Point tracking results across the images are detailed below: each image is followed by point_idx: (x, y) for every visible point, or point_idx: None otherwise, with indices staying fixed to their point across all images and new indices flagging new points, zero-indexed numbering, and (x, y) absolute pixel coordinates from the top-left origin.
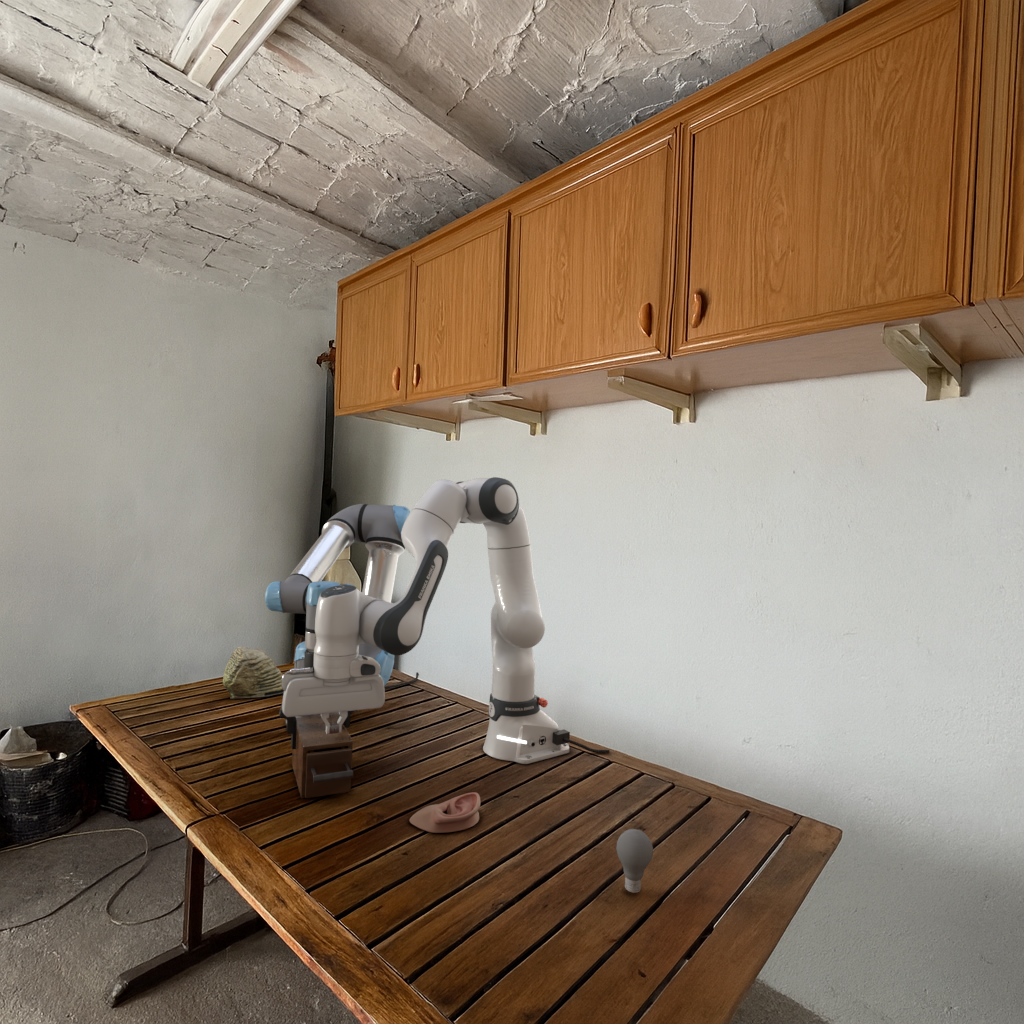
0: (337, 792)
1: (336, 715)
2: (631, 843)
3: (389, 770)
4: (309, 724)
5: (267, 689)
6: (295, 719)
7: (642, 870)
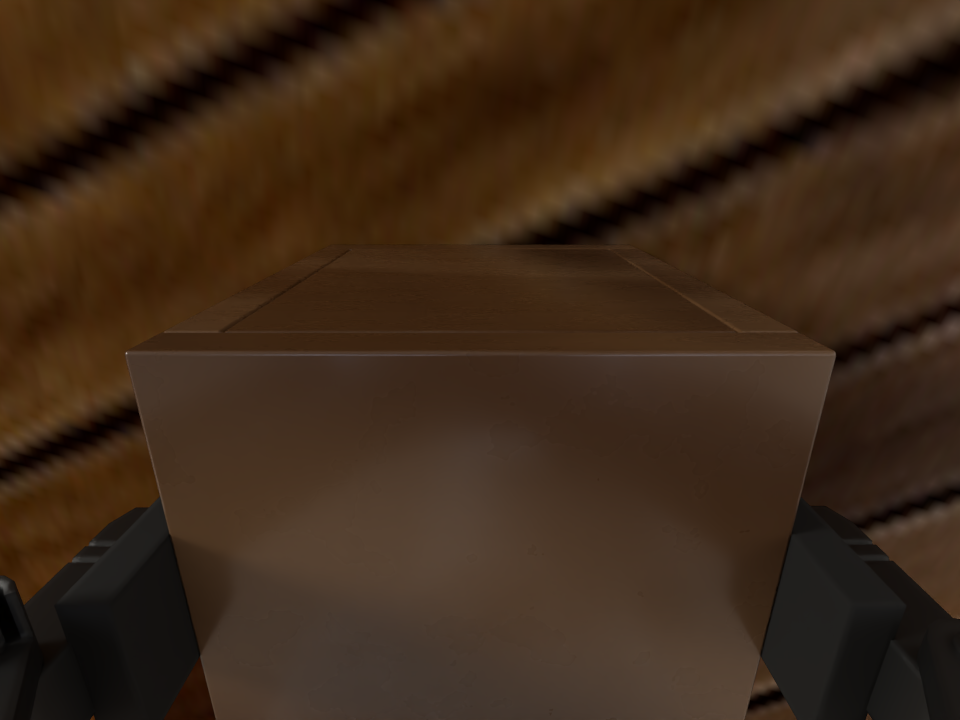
0: None
1: (785, 418)
2: None
3: (859, 504)
4: (355, 628)
5: None
6: (126, 707)
7: None
